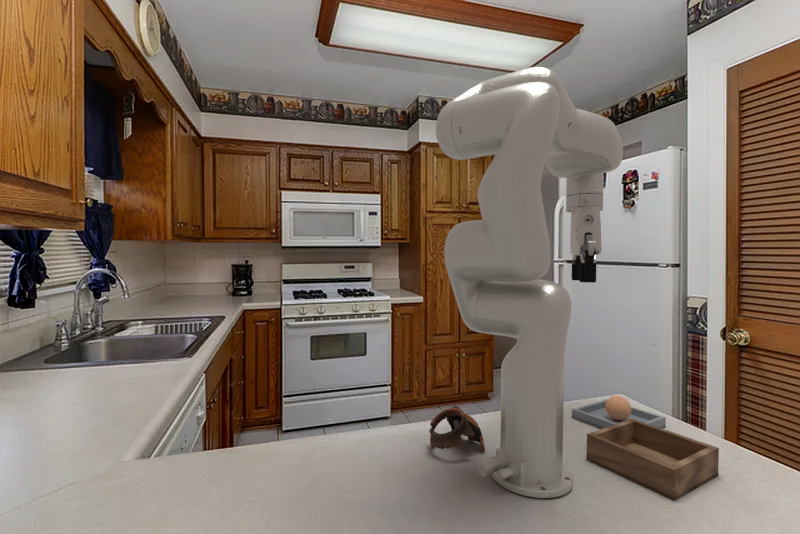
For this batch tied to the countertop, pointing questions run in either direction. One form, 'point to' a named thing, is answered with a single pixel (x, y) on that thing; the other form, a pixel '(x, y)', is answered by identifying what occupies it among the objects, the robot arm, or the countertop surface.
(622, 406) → the ball
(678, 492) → the bin
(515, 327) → the robot arm
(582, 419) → the tray
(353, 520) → the countertop surface
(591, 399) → the countertop surface
